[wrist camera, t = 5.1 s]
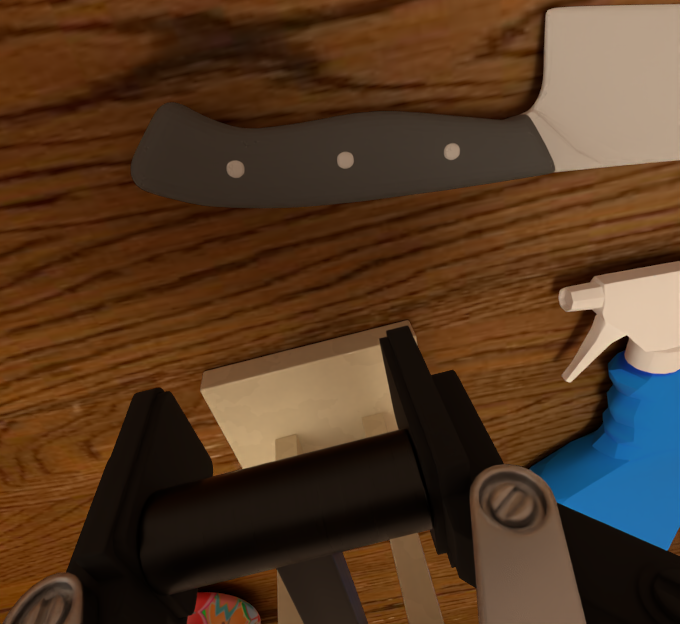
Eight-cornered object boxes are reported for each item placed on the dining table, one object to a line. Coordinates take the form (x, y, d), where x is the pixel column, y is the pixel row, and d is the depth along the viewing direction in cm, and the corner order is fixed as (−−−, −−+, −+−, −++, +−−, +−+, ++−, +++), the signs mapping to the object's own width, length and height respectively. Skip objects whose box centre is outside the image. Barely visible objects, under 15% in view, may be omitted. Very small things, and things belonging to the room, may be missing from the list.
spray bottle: (667, 579, 30) (834, 256, 16) (511, 614, 30) (552, 313, 16) (636, 537, 32) (760, 226, 19) (492, 569, 32) (514, 276, 19)
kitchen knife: (1088, -30, 14) (1024, 143, 15) (965, 1, 16) (920, 147, 18) (87, 10, 10) (134, 225, 12) (123, 42, 13) (158, 216, 14)
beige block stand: (202, 371, 19) (117, 825, 8) (408, 319, 19) (591, 708, 8) (281, 521, 25) (291, 878, 15) (433, 484, 25) (550, 814, 15)
